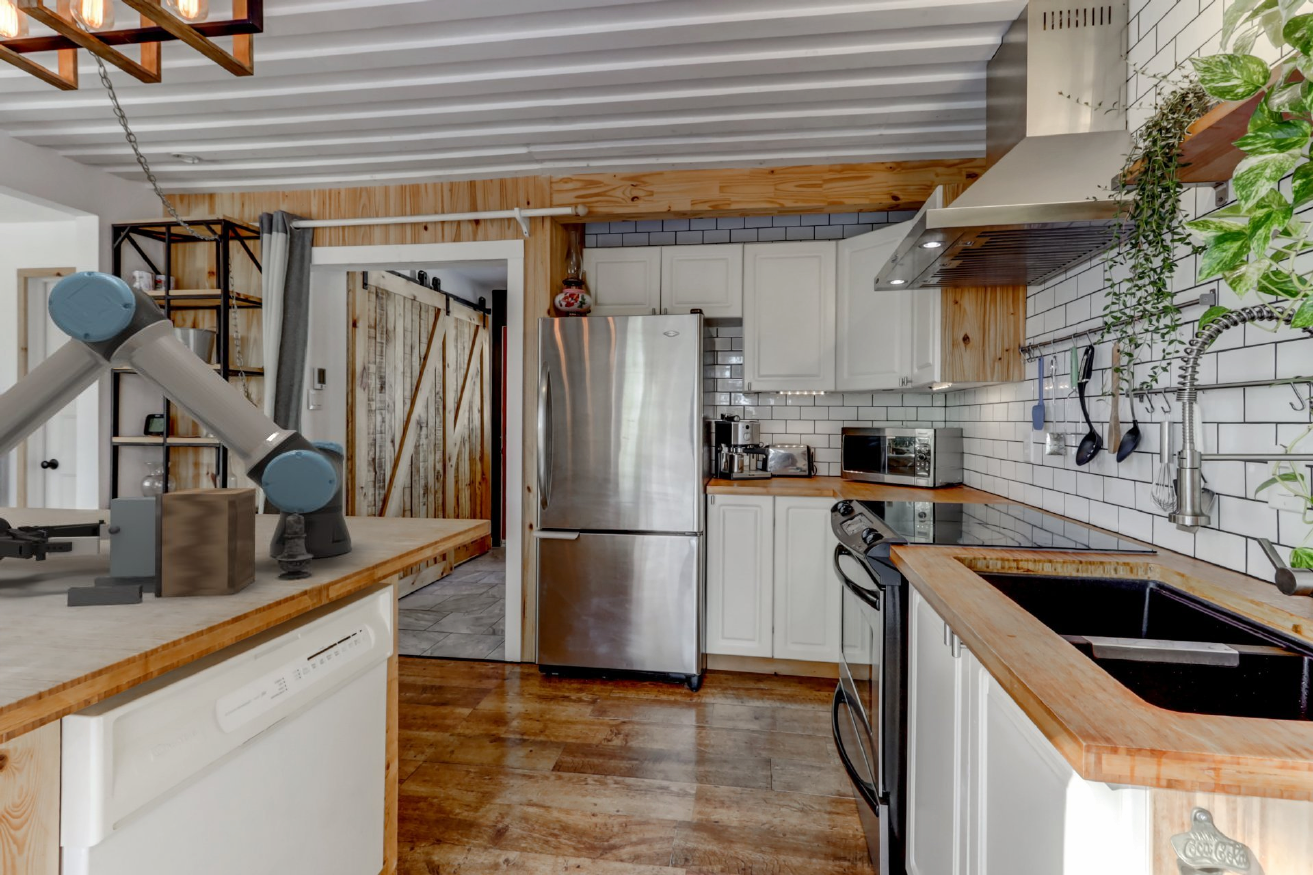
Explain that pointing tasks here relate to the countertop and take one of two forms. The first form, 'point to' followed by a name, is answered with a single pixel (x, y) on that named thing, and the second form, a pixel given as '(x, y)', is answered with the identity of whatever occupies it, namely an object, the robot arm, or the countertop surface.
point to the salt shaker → (294, 550)
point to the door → (132, 536)
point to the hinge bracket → (112, 591)
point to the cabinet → (204, 541)
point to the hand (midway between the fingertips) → (122, 537)
